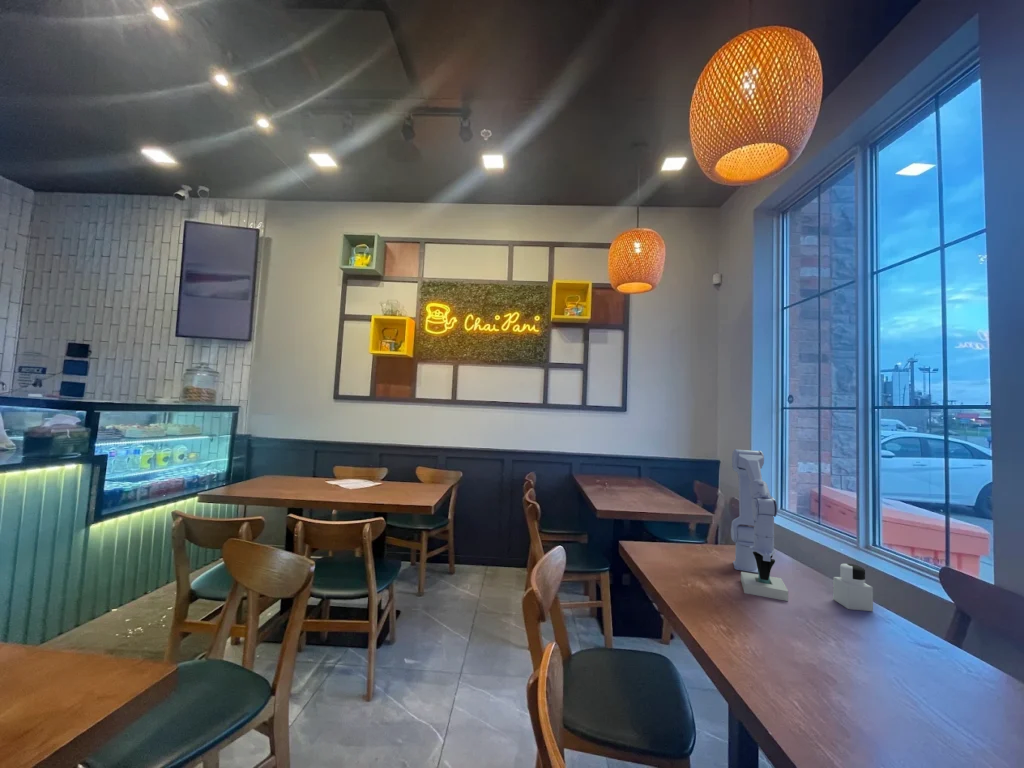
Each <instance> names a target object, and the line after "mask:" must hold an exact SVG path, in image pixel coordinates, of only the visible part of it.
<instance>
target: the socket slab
mask: <svg viewBox="0 0 1024 768" xmlns="http://www.w3.org/2000/svg"><path fill="white" fill-rule="evenodd" d="M758 576H759V573H754V572H748V571H741V572H740V582H741V586H742V589H743V593H744V594H748V595H752V596H758V597H764V598H769V599H773V600H779V601H786V602H789V589H788V588H787V586H786V585H785V582H784V581H783V579H782V578H781V577H776V576H775V577H774V576H770V584H766V583H760V582H758Z"/></svg>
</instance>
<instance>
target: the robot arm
mask: <svg viewBox="0 0 1024 768" xmlns="http://www.w3.org/2000/svg"><path fill="white" fill-rule="evenodd" d="M731 455H732V456H731V462H732V463H731V464H732V466H731V467H732V470H733V471H734V472H735V473H737V476H738V506H739V507H738V509H739V510H738V511H739V515H738V517H736V518H733V520H731V526H730V537H731V540H732V542H734V543H735V558H734V559H735V560H732V563H733V568H734V570H736V571H737V570H738V571H741V572H747V573H753V574H758V575H760V578H761V579H762V580H768V579H769V575H770V576H771V571H772V568H773V566H774V565H775V563H776V560H775V559H774V558H773V555H774V554H775V517H777V514H778V504H777V501H776V499H775V498H774V497H773V496H771V493H770V490H769V485H768V483H767V482H766V481H764V480H763V477H762V470H761V469H763V467H764V464H765V455H764V453H763V451H762V450H751V449H750V450H749V449H748V450H747V449H737V448H735V449H733V451H732V454H731Z"/></svg>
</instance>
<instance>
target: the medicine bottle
mask: <svg viewBox="0 0 1024 768" xmlns="http://www.w3.org/2000/svg"><path fill="white" fill-rule="evenodd" d="M839 570H840V572H839V576H833V577H832V580H833V581H832V583H833V584H832V585H833V587H832V589H833V591H832V593H833V595H832V596H833V597H832V598H833V601H835V602H837V603H839V605H841V606H843V607H844V608H845V609H847V610H854V611H865V612H874V587H873V586H872V585H869V584H867V583H866V569H864V568H863V567H862V566H860V565H858V564H854V563H848V562H847V563H841V564H840V565H839Z"/></svg>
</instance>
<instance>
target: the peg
mask: <svg viewBox="0 0 1024 768" xmlns="http://www.w3.org/2000/svg"><path fill="white" fill-rule="evenodd" d="M758 575H759V574H758ZM770 577H771V574H770V575H769V579H768V580H762V579H761V578H760V575H759V576H758V582H760V583H766V584H770Z"/></svg>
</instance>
